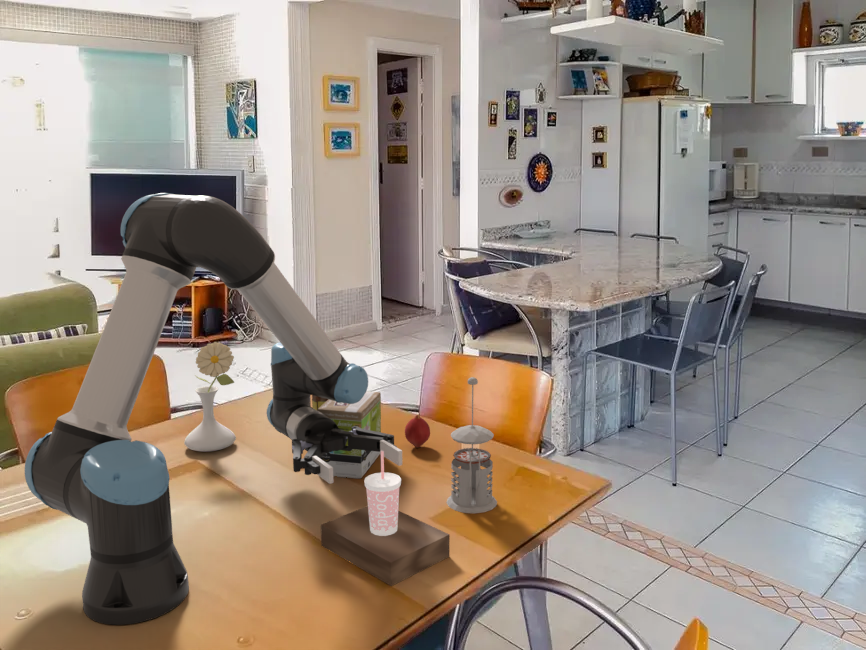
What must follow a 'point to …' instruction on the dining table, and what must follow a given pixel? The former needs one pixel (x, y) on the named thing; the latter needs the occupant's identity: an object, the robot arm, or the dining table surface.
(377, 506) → the beverage cup
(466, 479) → the french press
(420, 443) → the onion
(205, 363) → the flower in vase
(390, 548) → the walnut pedestal
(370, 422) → the tea box
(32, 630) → the dining table surface
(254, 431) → the dining table surface
